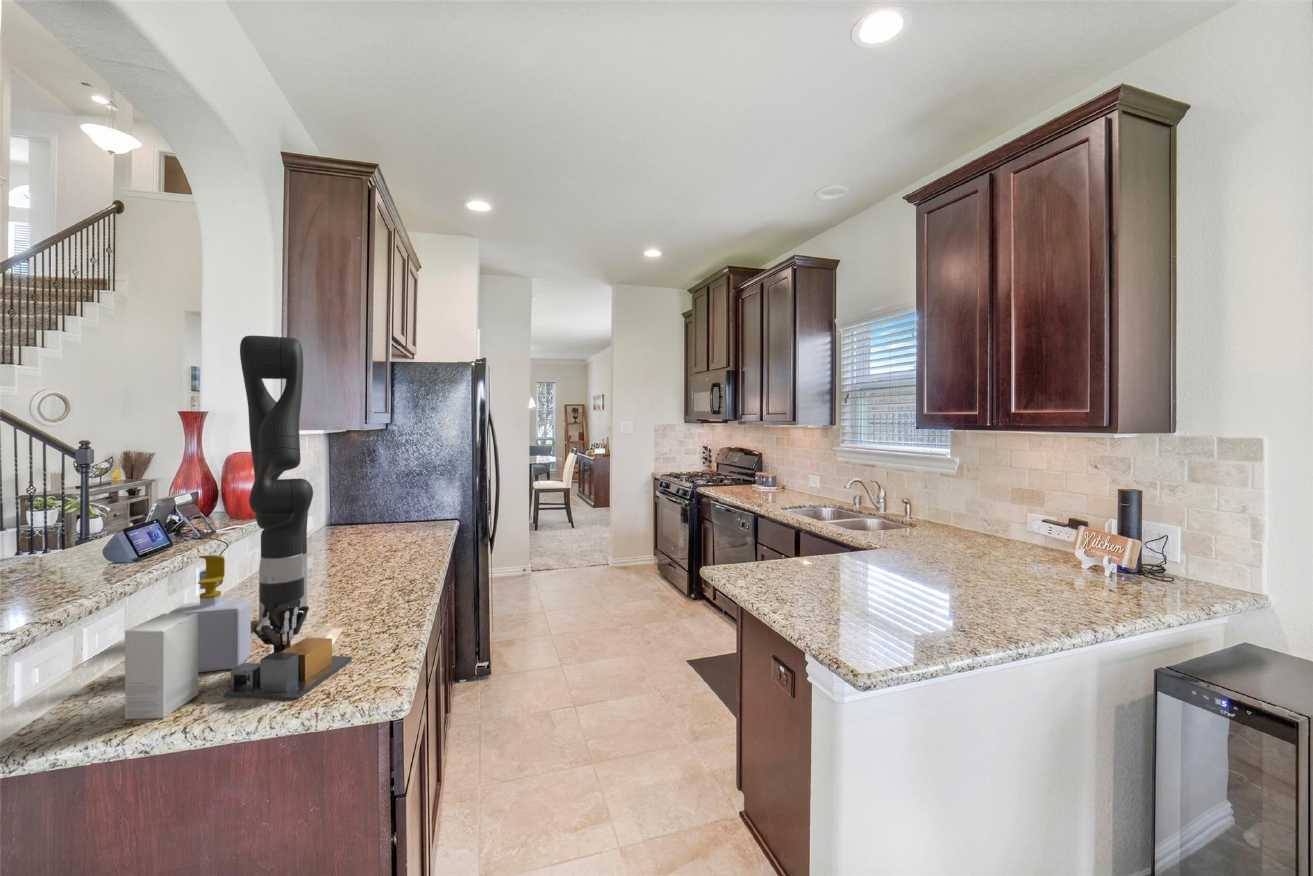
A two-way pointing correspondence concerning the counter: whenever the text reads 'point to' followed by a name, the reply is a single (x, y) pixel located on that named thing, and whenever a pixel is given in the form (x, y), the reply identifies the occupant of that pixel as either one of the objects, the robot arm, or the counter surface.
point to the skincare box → (161, 665)
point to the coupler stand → (278, 677)
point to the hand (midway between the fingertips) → (282, 660)
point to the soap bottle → (220, 622)
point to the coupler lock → (312, 655)
